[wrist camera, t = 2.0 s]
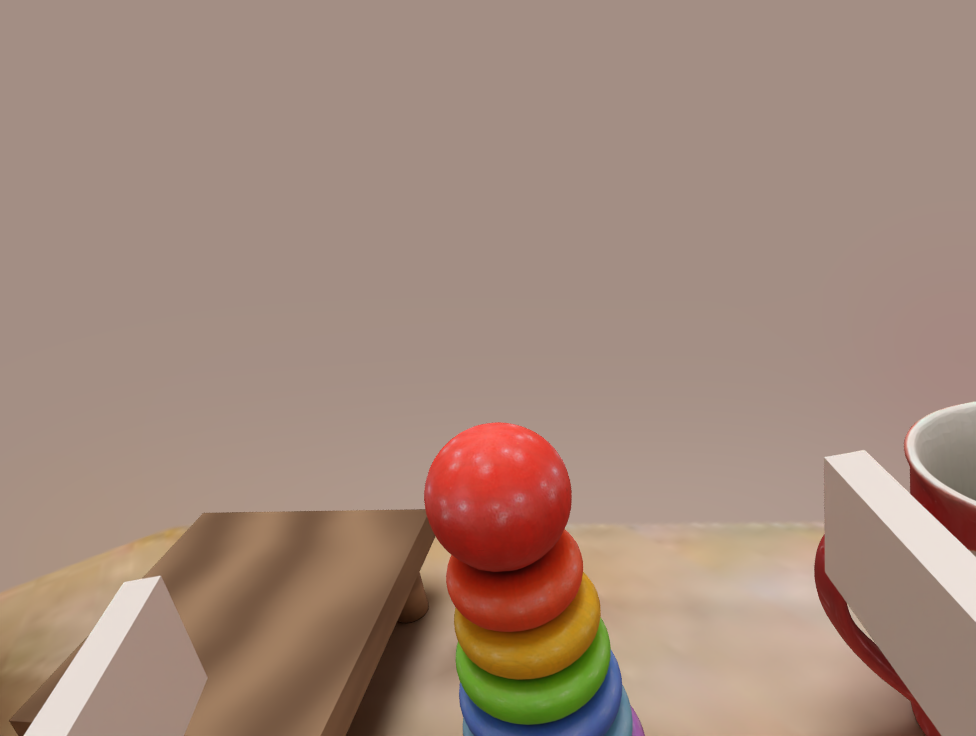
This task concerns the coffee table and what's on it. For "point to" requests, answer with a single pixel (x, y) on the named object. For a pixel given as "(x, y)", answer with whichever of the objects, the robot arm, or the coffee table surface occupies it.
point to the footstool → (286, 614)
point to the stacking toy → (521, 592)
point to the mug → (942, 492)
